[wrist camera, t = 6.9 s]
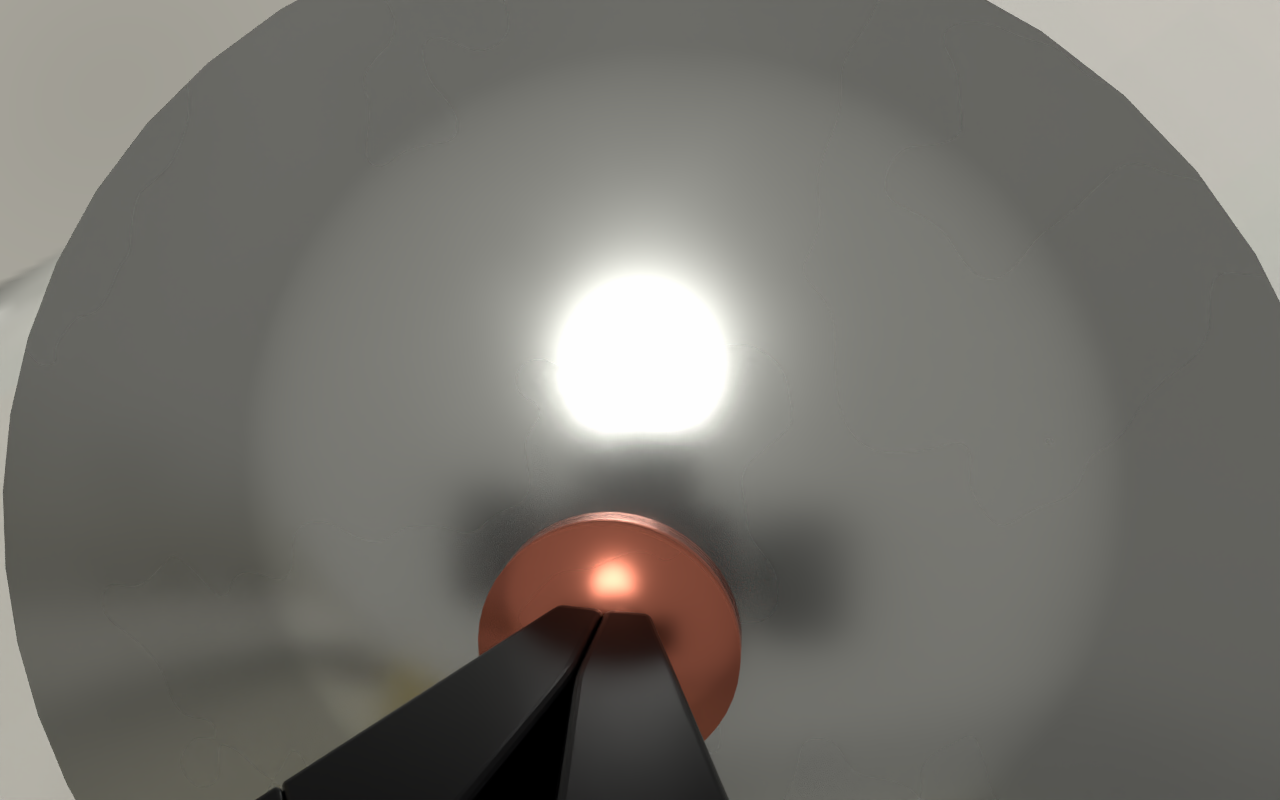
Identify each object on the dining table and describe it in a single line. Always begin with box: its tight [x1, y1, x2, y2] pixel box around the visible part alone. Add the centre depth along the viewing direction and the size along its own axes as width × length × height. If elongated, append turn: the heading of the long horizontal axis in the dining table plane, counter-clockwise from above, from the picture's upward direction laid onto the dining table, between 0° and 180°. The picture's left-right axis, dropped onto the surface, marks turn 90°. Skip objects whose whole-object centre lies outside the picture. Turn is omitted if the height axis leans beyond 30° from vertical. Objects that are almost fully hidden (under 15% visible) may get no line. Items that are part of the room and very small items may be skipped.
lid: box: [3, 0, 1280, 800], centre depth 10 cm, size 13×13×2 cm
